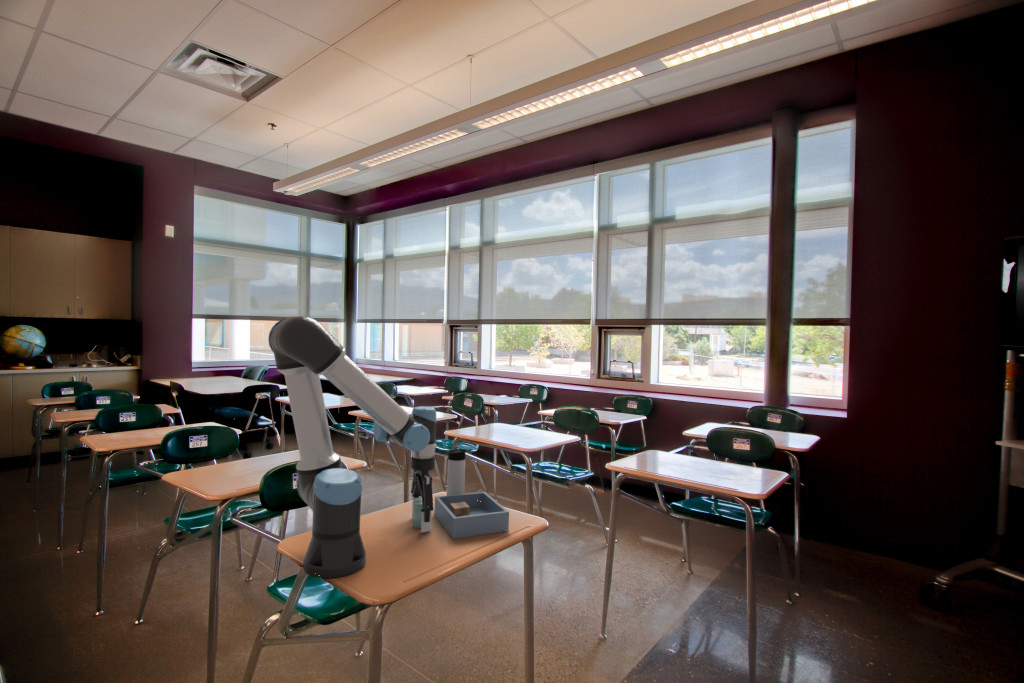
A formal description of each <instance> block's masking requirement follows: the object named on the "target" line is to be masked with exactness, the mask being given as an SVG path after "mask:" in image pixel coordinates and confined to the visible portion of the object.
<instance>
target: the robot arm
mask: <svg viewBox="0 0 1024 683" xmlns="http://www.w3.org/2000/svg"><path fill="white" fill-rule="evenodd" d="M268 345H269V346H268V347H270V349H271V352H272V353H273V356H274V362H275V366H276V371H278V372H279V373H280V374H282V375H283V376H284V379H285V386H286V389H287V391H286V392H287V396H288V400H289V406H290V410H291V416H292V420H293V421H292V422H293V426H294V430H295V431H294V432H295V436H296V442H297V447H298V452H299V456H300V459H299V461H298V462H297V464H296V465H295V469H296V474H297V480H296V489H297V492H298V496H299V497H300V498H301V499H302V501H303V502H304V503H306V505H307V507H309V509H311V511H312V524H311V525H312V526H311V528H312V531H311V539H310V542H309V545H308V547H307V550H306V552H305V556H304V557H303V571H304V573H306V575H309V576H312V577H315V578H319V579H333V578H340V577H345V576H348V575H352V574H353V573H357V572H358V571H360V570H361V569H362V568H363V567H365V565H366V563H367V562H366V560H367V558H366V557H367V553H366V548H365V546H364V541H363V539H362V538H363V537H362V535H361V510H362V509H361V508H362V506H361V505H362V491H363V485H362V478H361V476H360V474H359V473H358V472H356V471H355V470H352V469H348V468H345V467H344V468H343V464H342V461H341V455H340V454H339V453H337V452H335V451H334V448H333V442H332V438H331V431H330V426H329V422H328V416H327V410H326V404H325V399H324V394H323V388H322V383H321V379H320V378H321V377H320V376H323V377H325V378H326V380H328V381H329V382H330V383H331V384H332V385H334V387H336V388H337V389H338V390H340V392H341V393H342V394H343V395H344V396H346V397H347V398H348V399H349V400H350V401H352V402H353V403H354V404H355V405H356V406H357V407H358V408H359V409H361V410H362V412H364V413H365V414H366V415H367V416H368V417H370V419H372V420H373V427H372V428H373V436H374V439H375V440H376V441H377V442H380V443H381V442H384V443H387V442H393V443H394V444H397V445H399V446H401V447H404V449H406V450H407V451H410V455H411V458H410V469H411V470H413V475H412V481H411V482H412V483H411V490H410V494H412V495H411V496H412V507H411V509H412V511H411V519H413V503H414V502H415V501H418V500H422V506H423V509H421V512H422V519H421V528H420V532H421V533H429V532H431V526H432V525H431V522H432V512H433V511H434V510H435V507H434V501H433V500H434V498H433V477H432V476H431V475H430V473H429V472H430V471H431V470H434V469H435V467H436V457H435V455H436V449H437V446H438V445H437V444H436V440H437V439H436V435H437V433H436V432H437V421H438V420H437V411H436V410H437V409H436V408H434V407H432V406H426V405H425V406H422V405H421V406H415V407H413V408H412V412H411V413H410V414H409V413H408V412H407V411H406V410H405V409H404V408H403V407H402V406H400V404H398V402H396V400H394V398H393V397H391V396H390V395H389V394H388V393H387V392H386V391H385V390H384V389H383V388H381V386H380V385H379V384H378V383H376V381H374V380H373V379H372V378H371V377H370V376H369V375H368V374H367V373H366V372H364V370H363V369H362V368H360V366H358V365H357V364H356V363H355V361H353V360H352V359H351V358H350V357H349V356H348V355H347V354H345V350H346V348H345V347H344V346H343V345H342V344H341V343H340V342H339V340H337V339H336V338H335V337H334V336H333V334H331V333H330V331H329V330H327V328H325V326H324V325H323V324H322V323H320V321H318V320H316V319H314V318H312V317H310V316H303V315H299V316H296V315H295V316H289V317H288V316H287V317H283V318H282V319H280V320H278V321H277V322H276V323H274V324H273V326H272V327H271V329H270V330H269V334H268ZM428 506H429V507H428ZM315 573H316V574H315ZM318 575H320V576H318ZM322 577H323V578H322Z"/></svg>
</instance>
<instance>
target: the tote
mask: <svg viewBox="0 0 1024 683" xmlns="http://www.w3.org/2000/svg"><path fill="white" fill-rule="evenodd" d="M477 500H478V501H477ZM480 501H481V502H480ZM459 502H465V503H466V504H467V505H468V506H469V507H470V513H469V516H461V517H456V516H455V515H454V514H453V513H452V512H451V511H450V503H459ZM433 511H434V512H433V513H434V516H435V517H436V518H437V520H438V521H439V523H440V524H441V525H442V526H443V528H444V529H445V531H446V532H447V533H448V534H449V535H450V536H451V538H452V539H461V538H468V537H476V536H483V535H490V534H495V533H496V532H498V533H502V532H501V531H505V532H507V531H506V530H508V531H509V529H510V528H509V524H510V512H509V510H508V509H506V508H505V507H504V506H503V505H502V504H500V503H499V502H498V501H497V500H496V499H495V498H493V497H492V496H491V495H490V494H488V493H487V491H479V492H468V493H464V494H457V495H447V494H446V495H440V496H434V509H433Z"/></svg>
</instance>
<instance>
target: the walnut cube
mask: <svg viewBox="0 0 1024 683" xmlns="http://www.w3.org/2000/svg"><path fill="white" fill-rule="evenodd" d="M450 511H451V512H452V513H453V514H454V515H455V516H456V517H461V516H469V513H470V507H469V506H468V505H467V504H466V503H465V502H459V503H450Z"/></svg>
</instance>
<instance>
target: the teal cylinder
mask: <svg viewBox="0 0 1024 683" xmlns="http://www.w3.org/2000/svg"><path fill="white" fill-rule="evenodd" d="M428 507H429V506H428ZM421 509H423V506H422V499H421V500H418V501H415V502H414V503H413V518H412V527H413V528H416V529H421V519H422V512H421Z"/></svg>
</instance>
